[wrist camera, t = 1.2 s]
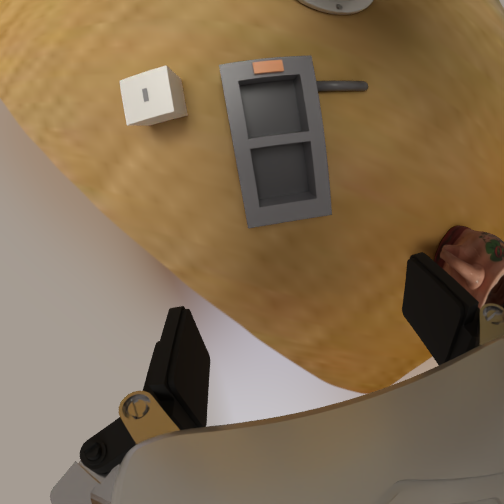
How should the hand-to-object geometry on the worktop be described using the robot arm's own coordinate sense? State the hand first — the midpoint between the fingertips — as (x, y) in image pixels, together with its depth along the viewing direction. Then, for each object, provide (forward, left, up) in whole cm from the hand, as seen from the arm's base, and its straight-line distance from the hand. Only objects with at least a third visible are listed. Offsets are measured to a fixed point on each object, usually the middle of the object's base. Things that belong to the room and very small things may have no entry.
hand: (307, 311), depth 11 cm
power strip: (-6, +6, -22) cm, 23 cm away
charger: (-12, -9, -22) cm, 26 cm away
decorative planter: (+13, +28, -22) cm, 38 cm away
